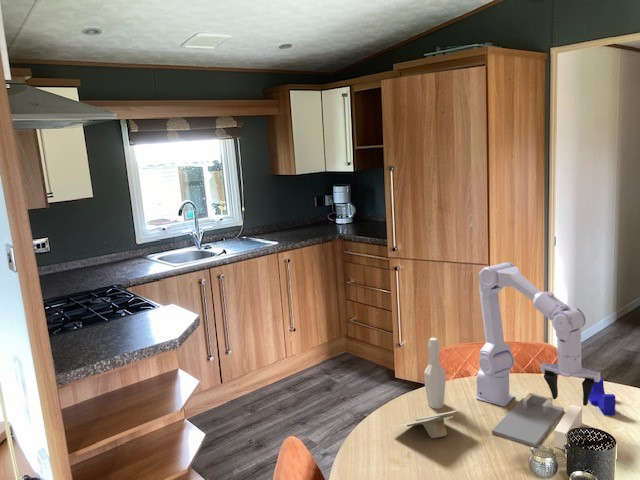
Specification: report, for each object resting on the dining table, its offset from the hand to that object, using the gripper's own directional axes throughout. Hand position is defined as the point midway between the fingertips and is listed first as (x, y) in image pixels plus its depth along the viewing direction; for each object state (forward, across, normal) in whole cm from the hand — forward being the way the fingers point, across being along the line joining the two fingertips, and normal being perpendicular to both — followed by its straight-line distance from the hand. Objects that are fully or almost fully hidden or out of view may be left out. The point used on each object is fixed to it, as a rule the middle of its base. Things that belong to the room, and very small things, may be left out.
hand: (570, 400), depth 142 cm
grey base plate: (+10, -12, +1) cm, 15 cm away
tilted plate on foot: (+10, -33, -20) cm, 40 cm away
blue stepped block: (+10, +3, +21) cm, 24 cm away
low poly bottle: (+9, -39, -4) cm, 40 cm away
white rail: (+10, -1, 0) cm, 10 cm away
